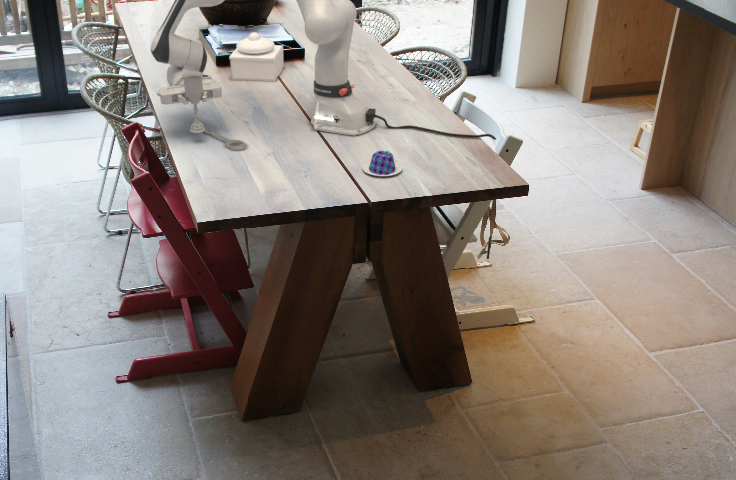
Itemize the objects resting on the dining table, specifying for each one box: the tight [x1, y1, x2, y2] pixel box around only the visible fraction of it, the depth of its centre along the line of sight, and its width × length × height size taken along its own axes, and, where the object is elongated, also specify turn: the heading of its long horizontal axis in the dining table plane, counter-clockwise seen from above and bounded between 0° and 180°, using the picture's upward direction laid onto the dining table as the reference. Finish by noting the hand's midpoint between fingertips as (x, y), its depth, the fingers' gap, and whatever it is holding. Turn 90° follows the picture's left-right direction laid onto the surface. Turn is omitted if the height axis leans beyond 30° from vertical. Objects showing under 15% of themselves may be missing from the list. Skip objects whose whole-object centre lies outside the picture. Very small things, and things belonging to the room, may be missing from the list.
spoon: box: [204, 129, 247, 151], centre depth 278 cm, size 21×5×1 cm, turn 39°
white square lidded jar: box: [228, 31, 285, 82], centre depth 331 cm, size 18×18×16 cm
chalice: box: [182, 71, 206, 134], centre depth 271 cm, size 7×7×18 cm
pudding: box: [362, 150, 403, 177], centre depth 254 cm, size 12×12×5 cm
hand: (195, 100), depth 269 cm, fingers closed on chalice, 5 cm apart
